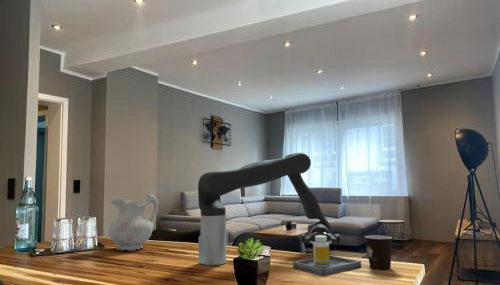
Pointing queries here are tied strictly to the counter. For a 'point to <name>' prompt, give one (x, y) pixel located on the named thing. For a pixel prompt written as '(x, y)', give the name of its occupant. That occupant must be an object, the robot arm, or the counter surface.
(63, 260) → the counter surface
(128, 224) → the ceramic pitcher
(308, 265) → the tray
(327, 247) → the supplement bottle
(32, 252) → the counter surface
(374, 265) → the coffee mug
